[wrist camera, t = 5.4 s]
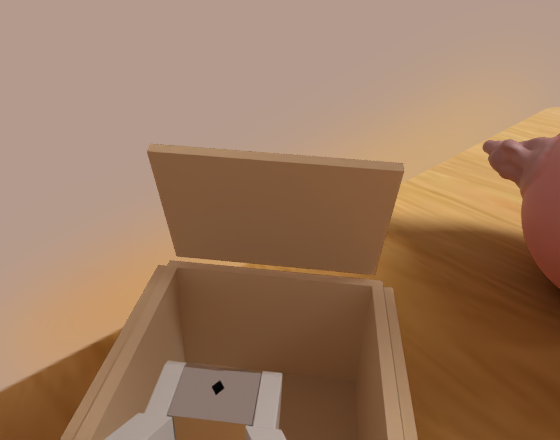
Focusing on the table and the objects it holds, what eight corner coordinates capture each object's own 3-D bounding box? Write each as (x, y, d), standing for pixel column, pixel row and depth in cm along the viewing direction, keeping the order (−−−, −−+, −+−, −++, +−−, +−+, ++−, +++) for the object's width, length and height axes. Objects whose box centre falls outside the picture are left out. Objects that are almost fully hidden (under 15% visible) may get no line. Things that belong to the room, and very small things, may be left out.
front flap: (404, 171, 20) (403, 162, 20) (147, 151, 20) (150, 142, 21) (374, 275, 26) (374, 266, 26) (176, 256, 26) (179, 248, 27)
